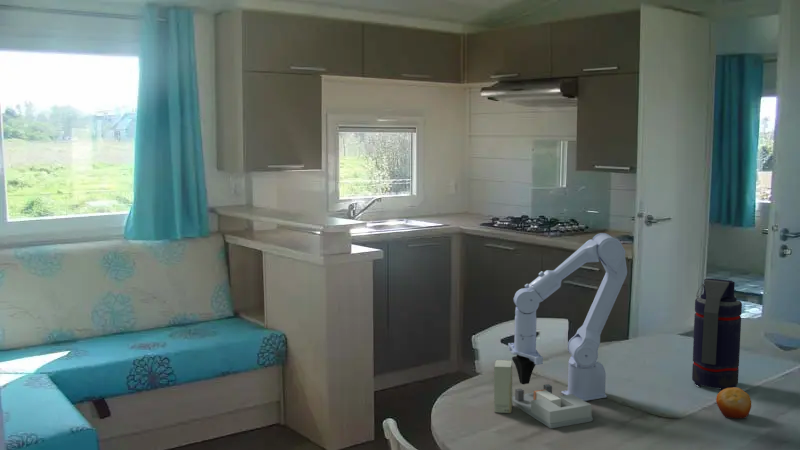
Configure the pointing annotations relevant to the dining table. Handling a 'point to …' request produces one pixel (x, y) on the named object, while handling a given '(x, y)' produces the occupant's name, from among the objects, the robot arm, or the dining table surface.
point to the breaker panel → (553, 408)
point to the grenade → (716, 335)
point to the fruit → (734, 402)
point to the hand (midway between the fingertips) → (524, 383)
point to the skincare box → (503, 386)
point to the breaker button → (547, 396)
